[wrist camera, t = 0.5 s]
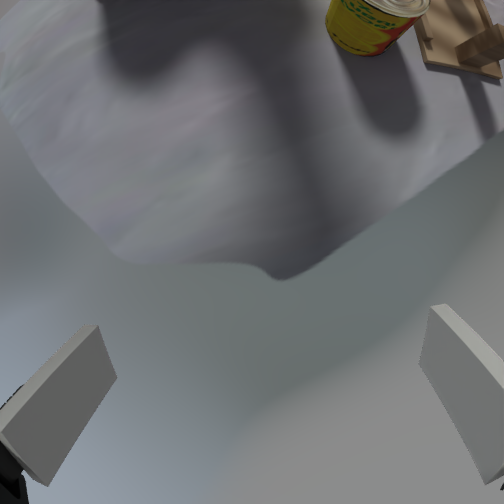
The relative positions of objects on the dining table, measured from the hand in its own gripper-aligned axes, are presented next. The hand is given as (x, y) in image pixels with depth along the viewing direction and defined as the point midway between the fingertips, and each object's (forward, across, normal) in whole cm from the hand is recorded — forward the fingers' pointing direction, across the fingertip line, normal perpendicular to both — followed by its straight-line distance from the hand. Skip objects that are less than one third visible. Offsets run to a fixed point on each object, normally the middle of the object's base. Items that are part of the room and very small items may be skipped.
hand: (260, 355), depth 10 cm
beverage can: (+26, +14, +25) cm, 39 cm away
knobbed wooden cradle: (+26, +30, +30) cm, 50 cm away
